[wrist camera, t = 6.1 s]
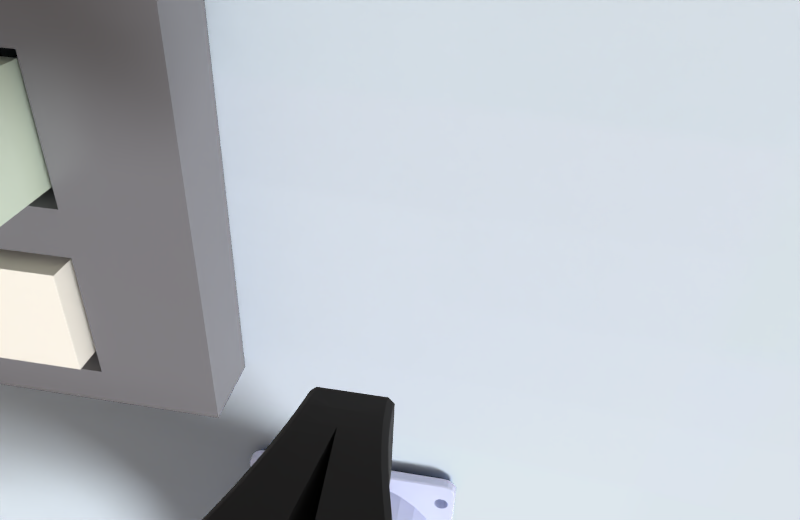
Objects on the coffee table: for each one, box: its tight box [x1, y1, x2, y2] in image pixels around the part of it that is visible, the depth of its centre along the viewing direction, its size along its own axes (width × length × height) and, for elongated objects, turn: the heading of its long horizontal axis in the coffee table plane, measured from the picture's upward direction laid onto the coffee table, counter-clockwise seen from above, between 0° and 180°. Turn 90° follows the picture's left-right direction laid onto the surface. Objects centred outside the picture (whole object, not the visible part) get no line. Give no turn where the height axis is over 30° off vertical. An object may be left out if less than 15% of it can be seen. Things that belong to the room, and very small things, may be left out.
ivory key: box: [0, 249, 96, 370], centre depth 22 cm, size 4×4×3 cm
